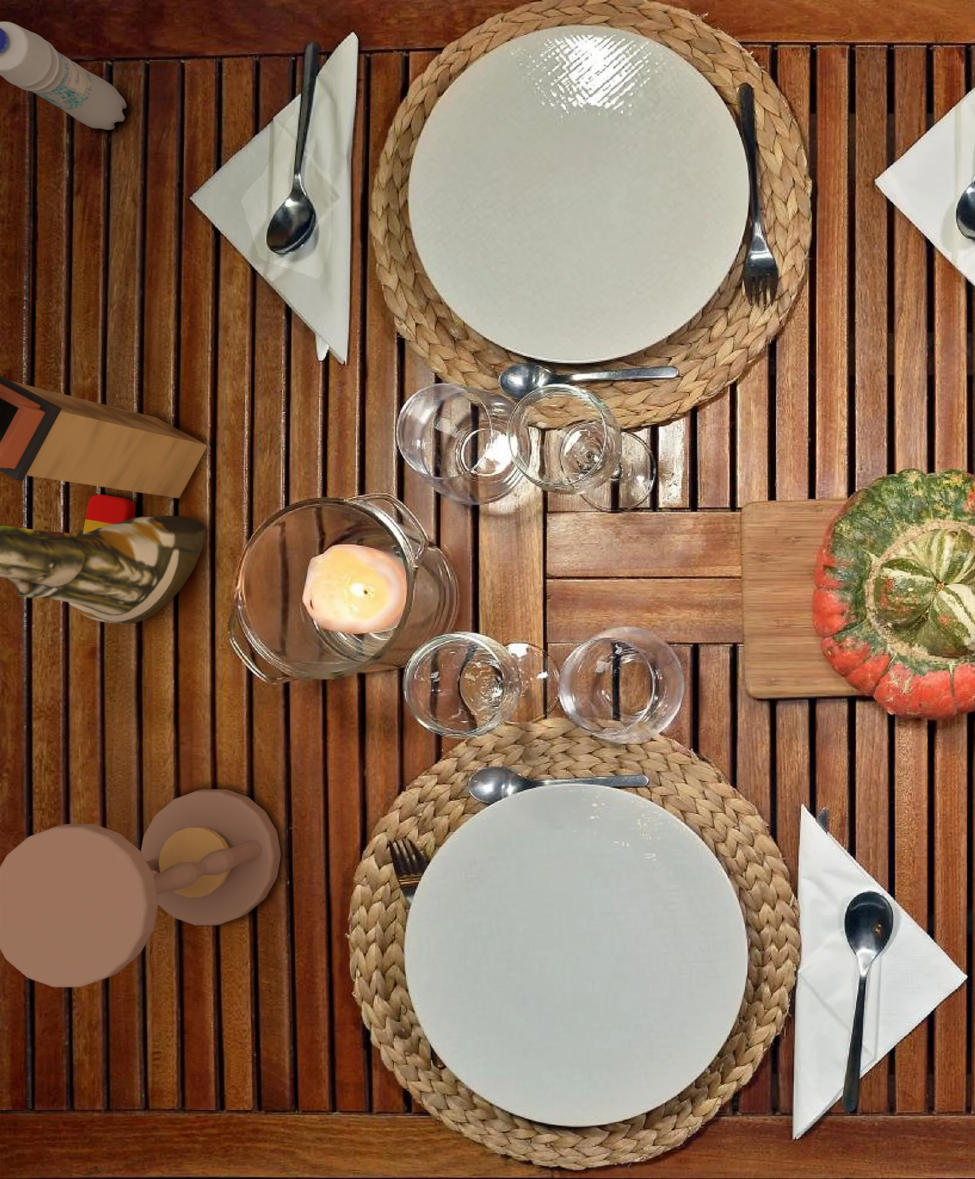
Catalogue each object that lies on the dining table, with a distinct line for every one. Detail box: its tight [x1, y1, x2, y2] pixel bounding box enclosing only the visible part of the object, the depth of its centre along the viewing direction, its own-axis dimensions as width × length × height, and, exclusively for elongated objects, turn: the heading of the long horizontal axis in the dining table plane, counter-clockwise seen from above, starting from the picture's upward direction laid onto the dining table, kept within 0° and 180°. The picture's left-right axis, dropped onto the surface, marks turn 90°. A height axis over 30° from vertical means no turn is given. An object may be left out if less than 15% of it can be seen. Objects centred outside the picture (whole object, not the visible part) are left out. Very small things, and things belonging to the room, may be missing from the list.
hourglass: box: [0, 788, 282, 988], centre depth 128 cm, size 18×18×25 cm
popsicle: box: [82, 493, 137, 534], centre depth 141 cm, size 6×15×2 cm, turn 170°
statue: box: [0, 514, 207, 625], centre depth 124 cm, size 16×11×35 cm, turn 142°
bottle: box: [0, 21, 127, 131], centre depth 133 cm, size 7×7×20 cm
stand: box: [11, 380, 208, 499], centre depth 130 cm, size 8×8×25 cm
